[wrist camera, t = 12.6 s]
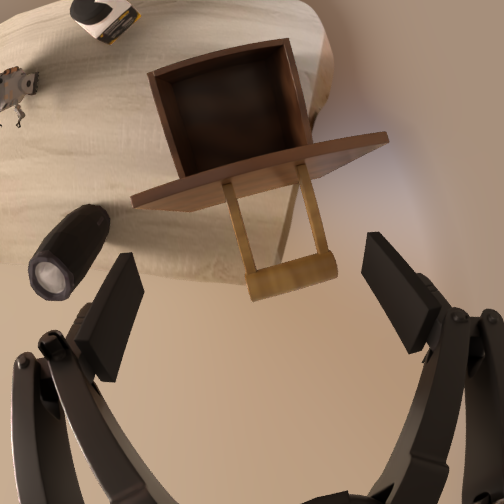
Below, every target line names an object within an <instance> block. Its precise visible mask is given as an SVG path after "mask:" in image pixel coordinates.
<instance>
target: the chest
mask: <svg viewBox="0 0 504 504" xmlns="http://www.w3.org/2000/svg"><path fill="white" fill-rule="evenodd" d="M147 77H148V81H149V84H150V88H151V91H152V94H153V98H154V101H155V104H156V107H157V111H158V114H159V117H160V120H161V124H162V127H163V130H164V133H165V136H166V139H167V142H168V145H169V148H170V152H171V155H172V158H173V161H174V164H175V167H176V169H177V172H178V175H179V178H180V179H181V178H184V177H187V176H191V175H194V174H197V173H200V172H203V171H207V170H210V169H214V168H217V167H220V166H224V165H227V164H231V163H235V162H238V161H242V160H246V159H250V158H253V157H257V156H261V155H265V154H269V153H273V152H278V151H282V150H286V149H291V148H295V147H300V146H304V145H309V144H313V140H312V134H311V129H310V124H309V120H308V115H307V110H306V105H305V101H304V96H303V92H302V88H301V84H300V79H299V75H298V71H297V67H296V63H295V59H294V56H293V52H292V48H291V45H290V41H289V38H284V39H277V40H270V41H264V42H258V43H252V44H247V45H242V46H237V47H233V48H228V49H224V50H220V51H216V52H212V53H208V54H204V55H201V56H197V57H194V58H190V59H187V60H184V61H181V62H178V63H175V64H172V65H169V66H166V67H163V68H160V69H157V70H155V71H152V72H149V73H147Z"/></svg>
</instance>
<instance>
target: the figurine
mask: <svg viewBox="0 0 504 504" xmlns="http://www.w3.org/2000/svg"><path fill="white" fill-rule="evenodd" d="M38 73H39V72H37V73H32V74H28V75H26V73H25V72H24V71H23V70H22V68H19V67H18V66H16V67H14V68H13V67H12V68H9V69H7V70H5V71H4V73H0V112H1V111H3V110H5V109H7V108H9V107H11V106H15V108H14V111H15V112H17V114H18V118H19V120H18V123H17V124H16V126H17V127H18V124H19V127H21V126H20V121H21V119H22V118H24V117H25V113H24V112H22V110H21V109H20V107H21V106H20V105H18V103H20V102H21V101H22V99H23V98H24V96H25V94H28V95H34V94H36V92H37V90H36V89H37V82H38V77H39V75H38ZM0 126H1V127H2V125H1V124H0ZM19 127H18V128H19Z"/></svg>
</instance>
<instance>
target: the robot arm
mask: <svg viewBox="0 0 504 504" xmlns="http://www.w3.org/2000/svg"><path fill="white" fill-rule="evenodd" d="M361 274H362V275H363V277H364V278H365V280H366V282H367V283H368V285H369V286H370V288H371V290H372V291H373V293H374V294H375V296H376V298H377V299H378V301H379V303H380V304H381V306H382V308H383V309H384V311H385V313H386V315H387V316H388V318H389V320H390V321H391V323H392V325H393V327H394V328H395V330H396V332H397V334H398V335H399V337H400V339H401V341H402V343H403V344H404V346H405V348H406V350H407V352H408V354H412V353H416V352H419V351H422V349H423V347H424V345H425V343H426V342H427V344H428V345H429V347H430V348H429V350H428V352H427V354H426V356H425V357H424V359H423V361H422V363H424V362H425V363H424V366H423V370H422V374H421V377H420V380H419V384H418V387H417V390H416V393H415V396H414V399H413V402H412V405H411V408H410V411H409V414H408V416H407V419H406V422H405V424H404V426H403V429H402V432H401V434H400V436H399V439H398V441H397V443H396V446H395V448H394V450H393V452H392V454H391V457H390V459H389V461H388V463H387V465H386V467H385V469H384V471H383V473H382V475H381V476H380V478H379V479H378V480H377V482H376V483H375V484H374V486H373V487H372V489H371V490H370V492H369V494H368V495H367V496H362V495H353V494H349V493H348V491H343V492H339V493H335V494H331V495H326V496H321V497H317V498H314V499H312V500H309V501H307V502H304V503H302V504H437V503H438V501H439V498H440V495H441V493H442V491H443V488H444V485H445V483H446V480H447V477H448V473H449V466H448V465H447V464H446V460H447V456H448V453H449V450H450V446H451V443H452V439H453V436H454V431H455V427H456V424H457V419H458V415H459V411H460V406H461V401H462V395H463V390H464V388H465V405H466V450H465V467H464V477H463V487H462V504H504V322H503V319H502V317H501V315H500V314H499V313H498V312H497V311H495V310H492V309H485V310H484V311H483V313H482V314H481V316H480V317H469V315H468V313H466V312H465V311H464V310H462V309H460V308H456V307H453V308H452V307H451V305H450V304H449V303H448V302H447V300H446V299H445V298H444V297H443V295H442V294H441V293H440V292H439V291H438V289H437V288H436V287H435V286H434V285H433V283H432V282H431V281H430V280H429V279H428V278H427V277H426V276H424V275H423V274H421V273H415V272H414V270H413V269H412V268H411V267H410V266H409V265H408V263H407V262H406V261H405V260H404V259H403V258H402V256H401V255H400V254H399V253H398V252H397V251H396V250H395V249H394V247H393V246H392V245H391V244H390V243H389V242H388V241H387V240H386V239H385V238H384V237H383V236H382V234H381V233H380V232H368V233H367V239H366V246H365V252H364V259H363V265H362V271H361ZM143 294H144V289H143V286H142V283H141V280H140V276H139V273H138V270H137V267H136V263H135V260H134V257H133V253H132V252H130V253H120V255H119V256H118V258H117V260H116V261H115V263H114V265H113V266H112V268H111V270H110V272H109V273H108V275H107V277H106V279H105V280H104V282H103V284H102V286H101V288H100V290H99V291H98V293H97V295H96V297H95V299H94V300H93V302H92V303H87V304H86V305H85V306H84V307H83V308H82V309H81V310H80V312H79V313H78V315H77V318H76V319H75V321H74V324H73V325H72V327H71V329H70V331H69V333H68V334H67V336H66V339H65V338H64V336H63V335H62V333H61V332H60V331H58V330H51V331H49V332H47V333H45V334H44V335H43V336H42V337H41V338H40V340H39V342H38V348H39V350H40V351H41V353H42V354H43V355H44V358H39V359H36V358H35V356H34V355H33V354H32V353H31V352H24V353H23V354H21V355H19V356H18V357H17V359H16V360H15V363H14V367H13V378H12V393H11V438H12V439H11V440H12V454H13V465H14V473H15V480H16V487H17V493H18V498H19V503H20V504H84V500H83V497H82V494H81V491H80V487H79V483H78V480H77V476H76V472H75V468H74V464H73V460H72V455H71V450H70V445H69V439H68V434H67V427H66V420H65V414H66V417H67V419H68V422H69V424H70V427H71V429H72V431H73V434H74V436H75V438H76V440H77V442H78V444H79V446H80V449H81V451H82V453H83V454H84V457H85V459H86V460H87V462H88V464H89V466H90V468H91V470H92V472H93V474H94V475H95V477H96V479H97V480H98V482H99V484H100V486H101V487H102V489H103V491H104V492H105V494H106V495H107V497H108V498H109V500H110V504H179V503H177V502H176V501H175V500H174V499H173V498H172V497H171V496H170V494H169V493H168V492H167V491H166V490H165V489H164V487H163V486H162V485H161V484H160V482H159V481H158V480H157V479H156V477H155V476H154V475H153V473H151V471H150V470H149V468H148V467H147V466H146V464H145V463H144V461H143V460H142V459H141V457H140V456H139V454H138V453H137V452H136V450H135V449H134V447H133V446H132V444H131V443H130V441H129V440H128V438H127V437H126V436H125V434H124V432H123V431H122V429H121V427H120V426H119V424H118V422H117V421H116V419H115V417H114V416H113V414H112V412H111V411H110V409H109V407H108V405H107V404H106V402H105V400H104V398H103V396H102V395H101V393H100V391H99V389H98V387H97V385H96V383H95V382H94V381H93V380H94V377H95V374H96V375H97V376H98V378H99V379H100V381H103V382H116V378H117V374H118V371H119V368H120V364H121V361H122V357H123V354H124V351H125V348H126V344H127V342H128V338H129V335H130V332H131V329H132V326H133V323H134V320H135V317H136V314H137V312H138V309H139V306H140V303H141V300H142V298H143ZM64 412H65V413H64Z"/></svg>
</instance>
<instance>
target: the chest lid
mask: <svg viewBox="0 0 504 504" xmlns="http://www.w3.org/2000/svg"><path fill="white" fill-rule="evenodd" d="M387 143H389V139H388V135H387V133H386V132H377V133H370V134H364V135H357V136H351V137H346V138H340V139H335V140H329V141H324V142H319V143H314V144H309V145H304V146H300V147H295V148H291V149H286V150H282V151H278V152H273V153H269V154H265V155H261V156H257V157H253V158H250V159H246V160H242V161H238V162H235V163H231V164H227V165H224V166H220V167H217V168H214V169H210V170H207V171H203V172H200V173H197V174H194V175H191V176H187V177H184V178H181V179H178V180H175V181H172V182H169V183H166V184H163V185H160V186H157V187H154V188H152V189H149V190H146V191H143V192H141V193H138V194H135V195H132V196H130V200H131V204H132V208H134V209H150V210H165V211H179V212H194V211H197V210H201V209H204V208H207V207H211V206H214V205H218V204H221V203H225V202H226V203H227V206H228V210H229V214H230V217H231V221H232V224H233V228H234V231H235V235H236V239H237V242H238V246H239V249H240V253H241V256H242V260H243V263H244V267H245V270H246V273H245V280H246V284H247V288H248V291H249V295H250V298H251V300H252V302H255V301H258V300H262V299H266V298H269V297H273V296H277V295H280V294H284V293H288V292H291V291H295V290H298V289H302V288H305V287H308V286H312V285H315V284H318V283H322V282H325V281H328V280H331V279H335V278H337V277H338V268H337V264H336V260H335V258H334V255H333V253H332V252H331V251H330V250H329V249H328V245H327V241H326V237H325V232H324V229H323V224H322V221H321V217H320V213H319V209H318V205H317V202H316V198H315V194H314V191H313V187H312V183H311V180H312V179H317V178H321V177H322V176H324V175H326V174H328V173H330V172H332V171H334V170H336V169H338V168H339V167H342V166H344V165H345V164H348V163H350V162H351V161H353V160H355V159H357V158H359V157H361V156H363V155H365V154H367V153H369V152H371V151H373V150H375V149H377V148H379V147H381V146H383V145H385V144H387ZM296 183H299V184H300V188H301V191H302V195H303V198H304V202H305V206H306V210H307V214H308V217H309V221H310V225H311V229H312V233H313V237H314V241H315V245H316V249H317V254H313V255H309V256H306V257H302V258H299V259H295V260H292V261H288V262H285V263H281V264H277V265H274V266H270V267H267V268H263V269H259V270H257V269H256V266H255V262H254V259H253V255H252V251H251V248H250V244H249V241H248V237H247V234H246V230H245V226H244V223H243V219H242V216H241V212H240V208H239V205H238V201H237V199H239V198H242V197H246V196H250V195H253V194H257V193H261V192H265V191H268V190H272V189H276V188H280V187H284V186H288V185H292V184H296Z"/></svg>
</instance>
